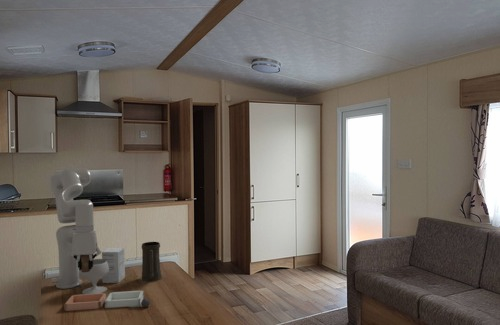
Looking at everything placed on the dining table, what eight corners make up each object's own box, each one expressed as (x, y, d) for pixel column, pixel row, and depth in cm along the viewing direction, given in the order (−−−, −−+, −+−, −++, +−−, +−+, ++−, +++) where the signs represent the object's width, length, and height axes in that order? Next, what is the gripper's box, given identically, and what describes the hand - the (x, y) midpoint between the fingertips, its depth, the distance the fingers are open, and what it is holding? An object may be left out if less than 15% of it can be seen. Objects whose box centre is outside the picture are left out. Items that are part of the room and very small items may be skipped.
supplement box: (109, 277, 217) (108, 247, 217) (125, 277, 217) (124, 247, 216) (102, 283, 207) (101, 251, 207) (119, 282, 207) (118, 251, 207)
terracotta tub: (64, 312, 169) (64, 304, 169) (72, 302, 180) (72, 295, 180) (100, 309, 171) (100, 301, 171) (106, 300, 182) (106, 292, 182)
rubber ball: (140, 308, 172) (140, 300, 171) (142, 305, 175) (141, 297, 175) (149, 307, 172) (149, 299, 172) (150, 304, 176) (149, 297, 176)
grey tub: (105, 309, 171) (104, 301, 171) (110, 299, 183) (110, 292, 182) (140, 306, 174) (140, 299, 174) (143, 297, 185) (143, 290, 185)
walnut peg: (80, 272, 173) (80, 254, 173) (82, 270, 177) (82, 252, 177) (88, 272, 174) (88, 254, 174) (91, 269, 177) (90, 252, 177)
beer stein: (139, 276, 216) (139, 242, 215) (159, 274, 221) (158, 239, 219) (144, 287, 203) (144, 249, 201) (164, 283, 207) (164, 247, 205)
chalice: (99, 297, 186) (98, 266, 186) (73, 295, 189) (72, 265, 189) (114, 287, 200) (114, 258, 199) (90, 286, 203) (89, 257, 202)
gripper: (62, 231, 170) (63, 272, 171) (101, 229, 172) (102, 270, 173) (68, 228, 177) (69, 267, 178) (105, 226, 180) (106, 265, 180)
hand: (85, 268), depth 175 cm, fingers closed on walnut peg, 3 cm apart
